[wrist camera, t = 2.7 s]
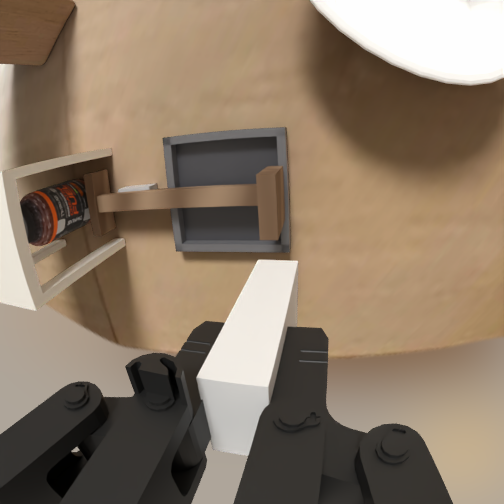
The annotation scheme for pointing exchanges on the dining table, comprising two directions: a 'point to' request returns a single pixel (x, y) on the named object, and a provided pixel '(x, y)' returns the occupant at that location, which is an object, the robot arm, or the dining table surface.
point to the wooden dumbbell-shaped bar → (190, 200)
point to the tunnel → (22, 261)
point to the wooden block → (30, 29)
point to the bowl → (427, 35)
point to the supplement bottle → (54, 211)
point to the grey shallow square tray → (225, 173)
